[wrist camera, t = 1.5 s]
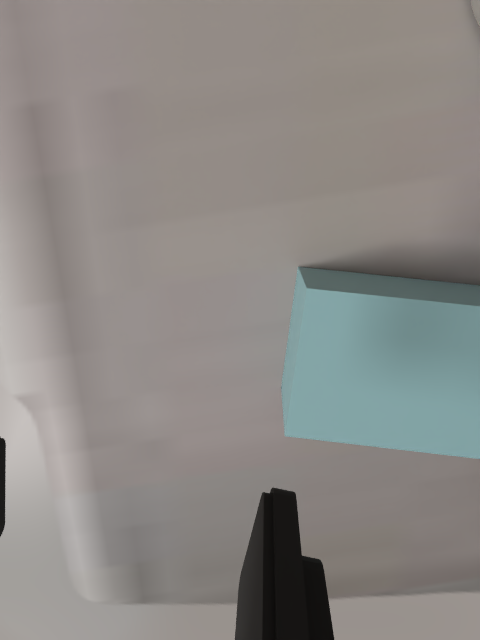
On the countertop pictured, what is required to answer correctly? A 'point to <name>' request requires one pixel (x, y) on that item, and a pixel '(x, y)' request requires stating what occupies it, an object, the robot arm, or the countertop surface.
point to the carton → (384, 362)
